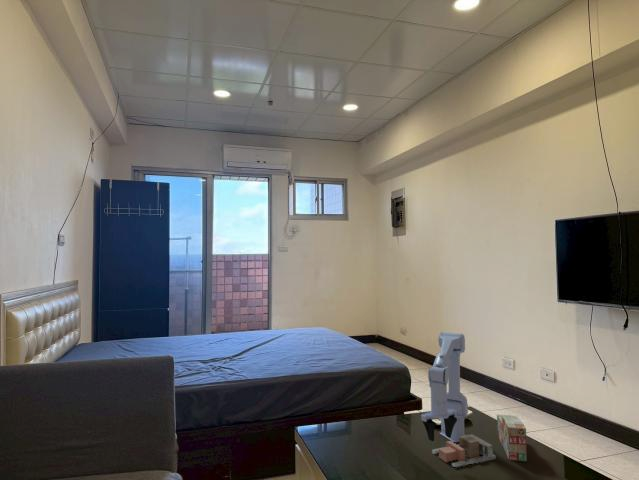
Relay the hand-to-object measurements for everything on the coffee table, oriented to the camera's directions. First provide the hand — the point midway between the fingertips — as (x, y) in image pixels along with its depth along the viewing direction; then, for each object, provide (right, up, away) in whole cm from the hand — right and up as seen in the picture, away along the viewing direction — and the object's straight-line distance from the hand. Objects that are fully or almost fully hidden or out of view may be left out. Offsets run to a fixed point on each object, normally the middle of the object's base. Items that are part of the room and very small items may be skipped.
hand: (439, 438), depth 149 cm
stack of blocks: (+32, -10, +13) cm, 36 cm away
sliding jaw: (+5, -9, +4) cm, 12 cm away
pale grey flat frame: (+11, -10, +6) cm, 16 cm away
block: (+13, -10, +7) cm, 18 cm away
